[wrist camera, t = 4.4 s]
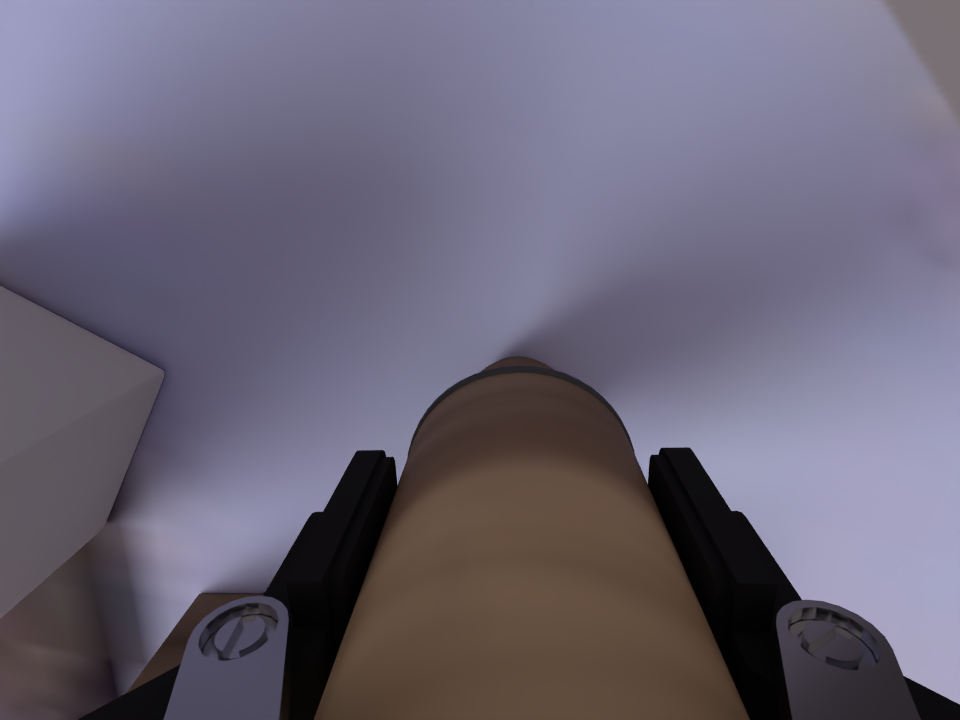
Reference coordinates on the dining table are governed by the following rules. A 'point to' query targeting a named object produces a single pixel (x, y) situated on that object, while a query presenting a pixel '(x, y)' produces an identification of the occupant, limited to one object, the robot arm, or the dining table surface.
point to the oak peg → (526, 573)
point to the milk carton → (61, 438)
